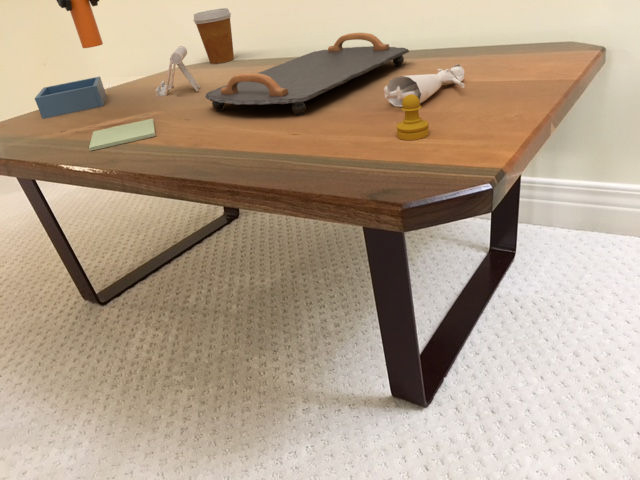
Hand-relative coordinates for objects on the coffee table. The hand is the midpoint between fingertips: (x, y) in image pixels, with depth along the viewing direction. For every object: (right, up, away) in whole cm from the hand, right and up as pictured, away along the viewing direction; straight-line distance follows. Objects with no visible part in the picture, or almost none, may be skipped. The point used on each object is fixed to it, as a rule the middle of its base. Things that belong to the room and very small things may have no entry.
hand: (82, 3), depth 78 cm
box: (-16, -7, +34) cm, 38 cm away
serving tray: (+33, -6, +21) cm, 40 cm away
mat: (+2, -17, +10) cm, 20 cm away
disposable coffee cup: (+9, +12, +62) cm, 64 cm away
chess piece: (+46, -21, -10) cm, 51 cm away
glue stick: (0, -5, +4) cm, 6 cm away
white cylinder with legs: (+5, -4, +34) cm, 34 cm away
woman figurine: (+51, -12, +5) cm, 52 cm away
